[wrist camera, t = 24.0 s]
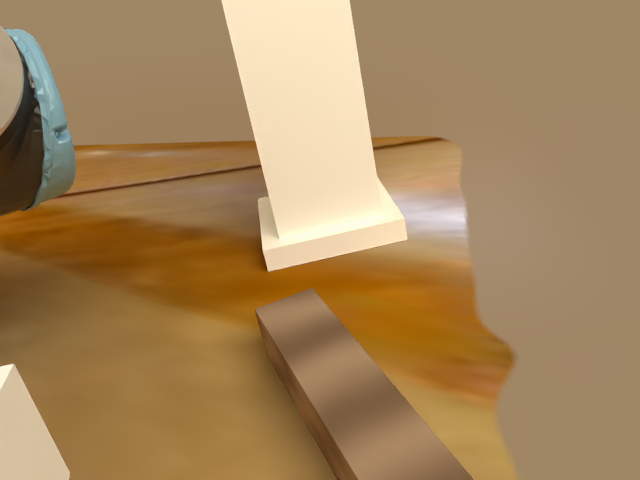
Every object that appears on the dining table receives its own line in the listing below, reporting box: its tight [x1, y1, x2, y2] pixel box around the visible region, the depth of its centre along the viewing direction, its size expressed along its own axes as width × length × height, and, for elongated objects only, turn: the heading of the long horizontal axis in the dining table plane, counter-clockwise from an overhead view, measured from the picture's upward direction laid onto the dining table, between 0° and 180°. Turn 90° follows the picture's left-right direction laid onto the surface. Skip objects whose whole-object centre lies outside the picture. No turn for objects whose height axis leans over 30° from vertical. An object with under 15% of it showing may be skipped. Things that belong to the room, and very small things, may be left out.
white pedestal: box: [222, 0, 407, 272], centre depth 50 cm, size 14×12×30 cm
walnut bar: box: [255, 288, 473, 480], centre depth 30 cm, size 24×4×4 cm, turn 22°
